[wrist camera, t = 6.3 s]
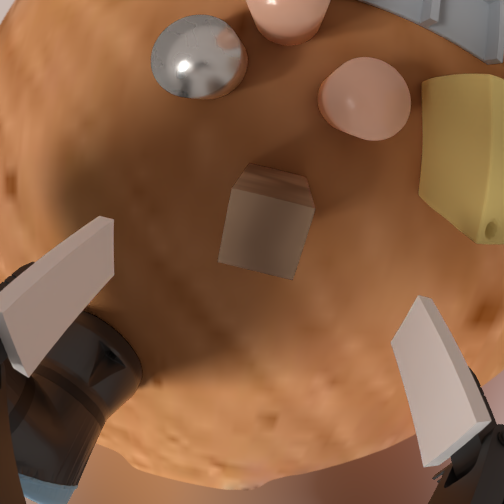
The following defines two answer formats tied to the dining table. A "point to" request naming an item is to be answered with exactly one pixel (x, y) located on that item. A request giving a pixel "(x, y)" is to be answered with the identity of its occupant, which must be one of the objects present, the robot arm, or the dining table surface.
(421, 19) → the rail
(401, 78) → the brown egg
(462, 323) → the dining table surface
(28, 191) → the dining table surface
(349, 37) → the dining table surface
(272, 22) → the pale pink egg
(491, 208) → the cheese
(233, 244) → the walnut post
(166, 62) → the chrome metal ball
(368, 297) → the dining table surface
